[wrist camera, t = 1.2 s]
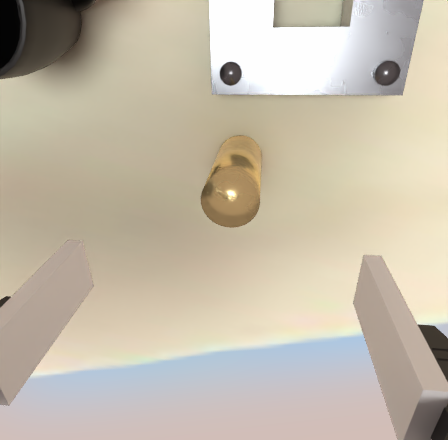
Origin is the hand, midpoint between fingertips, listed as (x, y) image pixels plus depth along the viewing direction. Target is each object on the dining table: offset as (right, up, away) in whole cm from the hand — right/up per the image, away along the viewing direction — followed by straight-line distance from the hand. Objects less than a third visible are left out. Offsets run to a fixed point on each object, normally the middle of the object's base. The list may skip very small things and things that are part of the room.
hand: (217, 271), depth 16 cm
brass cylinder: (+2, +8, +16) cm, 18 cm away
